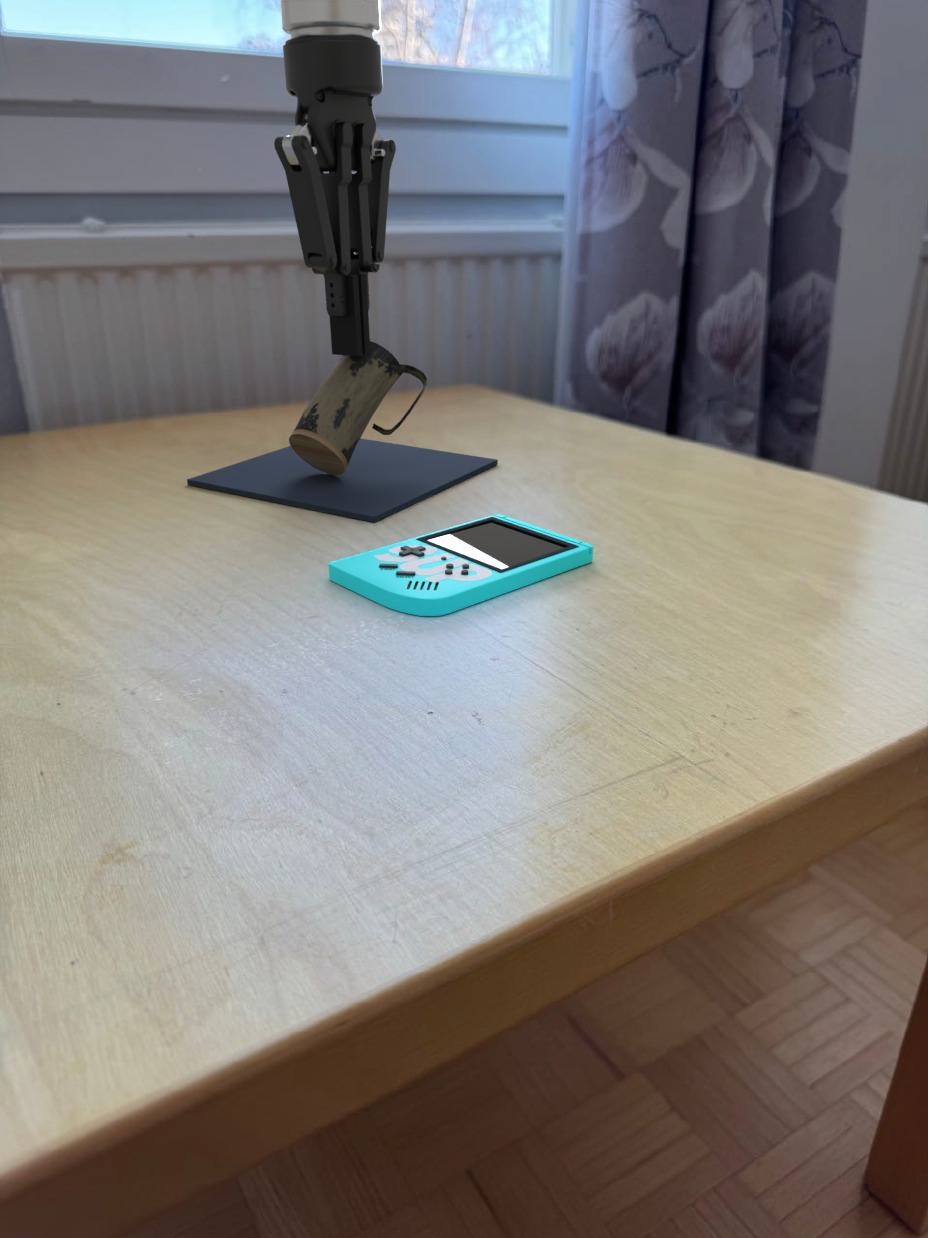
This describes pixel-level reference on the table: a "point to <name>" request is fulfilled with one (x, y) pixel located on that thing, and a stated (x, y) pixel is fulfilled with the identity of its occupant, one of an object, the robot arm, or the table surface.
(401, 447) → the mat
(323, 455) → the mug
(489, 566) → the handheld game console
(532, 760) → the table surface
